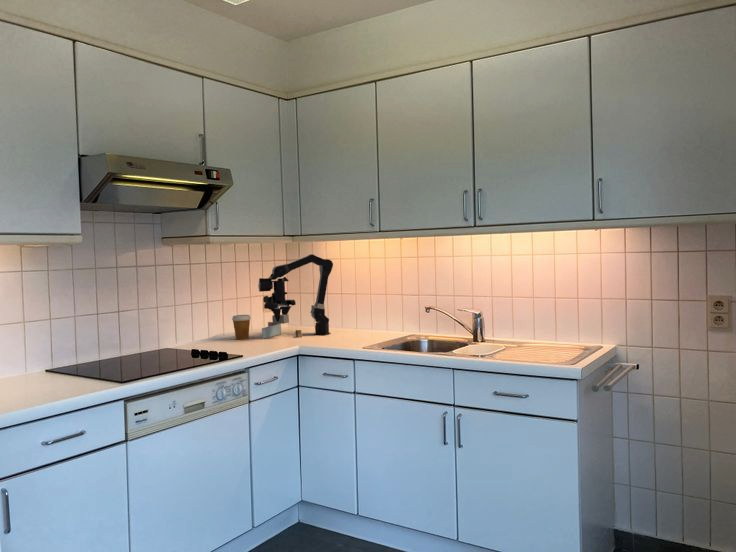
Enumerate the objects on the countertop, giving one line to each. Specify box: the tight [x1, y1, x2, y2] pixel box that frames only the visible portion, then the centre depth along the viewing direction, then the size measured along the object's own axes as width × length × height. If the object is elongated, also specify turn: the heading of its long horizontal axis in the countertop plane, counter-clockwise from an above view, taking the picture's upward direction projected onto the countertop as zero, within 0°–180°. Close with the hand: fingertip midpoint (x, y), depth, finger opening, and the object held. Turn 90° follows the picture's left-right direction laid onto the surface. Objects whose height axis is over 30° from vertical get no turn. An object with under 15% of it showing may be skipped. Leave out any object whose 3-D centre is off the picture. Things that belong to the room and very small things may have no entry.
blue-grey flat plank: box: [261, 324, 282, 339], centre depth 331 cm, size 16×1×6 cm, turn 153°
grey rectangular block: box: [271, 314, 290, 325], centre depth 325 cm, size 7×4×4 cm, turn 63°
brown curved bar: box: [267, 321, 303, 338], centre depth 335 cm, size 27×2×7 cm, turn 43°
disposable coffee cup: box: [231, 314, 251, 341], centre depth 326 cm, size 10×10×12 cm
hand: (280, 320), depth 325 cm, fingers closed on grey rectangular block, 4 cm apart
